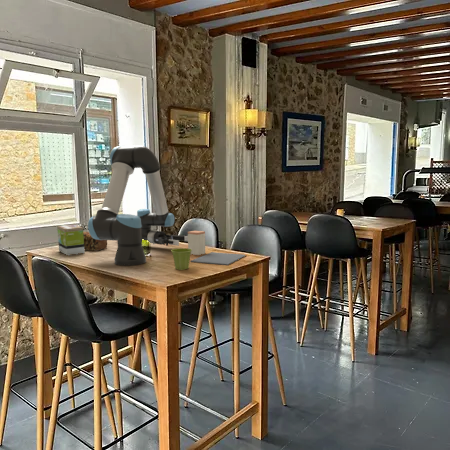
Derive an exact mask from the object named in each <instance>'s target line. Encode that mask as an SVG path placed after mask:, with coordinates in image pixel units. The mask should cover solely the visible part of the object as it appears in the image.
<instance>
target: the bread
mask: <svg viewBox="0 0 450 450" xmlns="http://www.w3.org/2000/svg"><path fill="white" fill-rule="evenodd" d="M83 235H84V249H86V250H85V251H93V250H97V251H101V250H105V249H104V248H106V249H107V247H108V240H97V239H94V238H92V237H91V235H90V233H89V231H83ZM100 249H101V250H100Z"/></svg>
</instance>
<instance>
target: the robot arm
mask: <svg viewBox="0 0 450 450" xmlns="http://www.w3.org/2000/svg"><path fill="white" fill-rule="evenodd" d="M109 153H110V155H109V163H110V165H111V169H112V174H111V177H110V180H109V183H108V186H107V190H106V193H105V196H104V199H103V202H102V205H101V208H100V209H97V211H96V215H93V216H90V218H89V219H88V221H87V222H88V223H87V229H88V232H89V233H90V235H91V237H92V238H94V239H97V240H107V241H114V242H115V241H116V243H117V248H116V253H115V256H114V264H115V265H117V266H139V265H142V264H145V263H146V262H147V257H146V254H145V250H144V247H143V242H142V239H144V240H148V241H149V242H150V243H149V244H152V245H155V244H157V245H161V246H162V245H163V246H164V245H165V246H167V247H168V246H177V247H178V246H180V241H184V242H188V234H181V235H179V234H166V232H164V231H161V230H154V229H152V227H166V228H167V227H172V226H174V224H175V220H176V219H175V215H174V214H173V213H171V212H169V208H168V204H167V200H166V196H165V195H166V194H165V191H164V186H163V181H162V179H161V173H160V171H161V165H160V161H159V160H158V157H157V156H156V155H155V153H154V152H153V151H152V150H151V149H150V148H149V147H147V146H145V145H120V146H115V147H113V148H112V150H111V151H110V152H109ZM138 168H139V169H141V170H142V174H144V175H145V178H146V183H147V186H148V190H149V193H150V198H151V202H152V204H153V205H152V206H153V209H154V212H151V210H150V209H149V208H141V209H138V210H137V212H136V215H135V214H130V213H129V214H127V213H120V210H121V209H120V208H121V205H122V202H123V198H124V195H125V192H126V188H127V185H128V181H129V178H130V176H131V175H133V174H134V171H135V169H138ZM119 213H120V214H119Z"/></svg>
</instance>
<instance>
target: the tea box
mask: <svg viewBox="0 0 450 450" xmlns="http://www.w3.org/2000/svg"><path fill="white" fill-rule="evenodd" d="M56 230H57V239H58V240H57V242H58V251H59V252H60V251H61V253H63V254H64V255H65V254H66V255H65V256H67V255H68V256H71V255H70V254H76V255H79V254H78V253H83V254H85V250H84V235H83V232H84V227H82V226H81V225H77V224H65V225H57V229H56Z"/></svg>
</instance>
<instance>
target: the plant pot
mask: <svg viewBox="0 0 450 450" xmlns="http://www.w3.org/2000/svg"><path fill="white" fill-rule="evenodd" d="M191 251H192V250H191V249H188V248H173V249H171V250H170V252H171V254H172V256H173V257H172V258H173V263H174V267H175V268H174V269H175V270H178V271H183V270H185V271H186V269H187V270H188V269H189V267H190V261H191V260H190V259H191V255H192V254H191Z"/></svg>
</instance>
